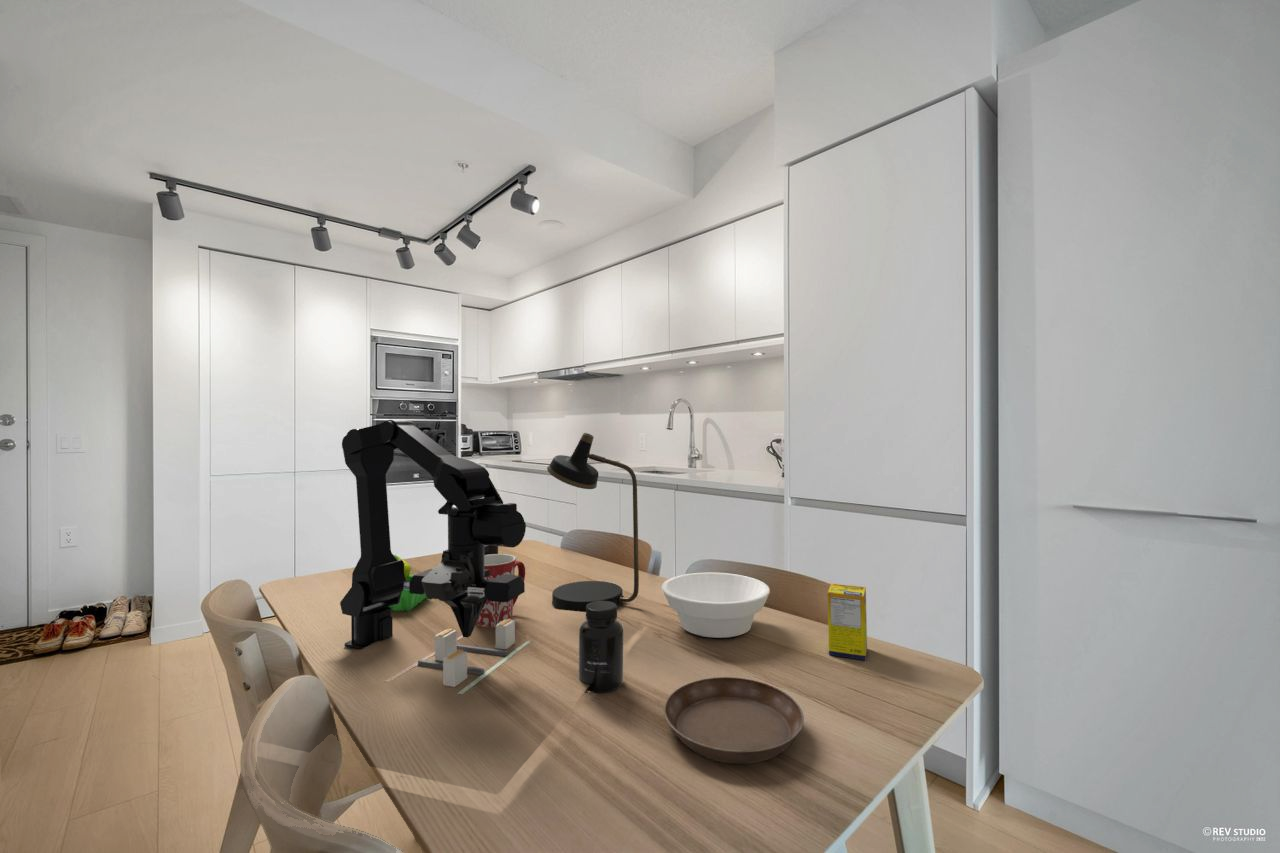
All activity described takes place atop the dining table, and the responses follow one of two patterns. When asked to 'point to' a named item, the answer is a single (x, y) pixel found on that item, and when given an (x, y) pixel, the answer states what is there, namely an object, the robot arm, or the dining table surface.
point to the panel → (469, 669)
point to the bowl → (715, 602)
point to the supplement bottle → (601, 648)
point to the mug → (496, 567)
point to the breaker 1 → (455, 668)
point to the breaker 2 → (505, 634)
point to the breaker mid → (445, 643)
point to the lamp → (586, 477)
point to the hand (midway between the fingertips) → (467, 636)
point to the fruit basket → (407, 592)
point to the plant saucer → (734, 719)
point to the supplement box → (847, 621)
